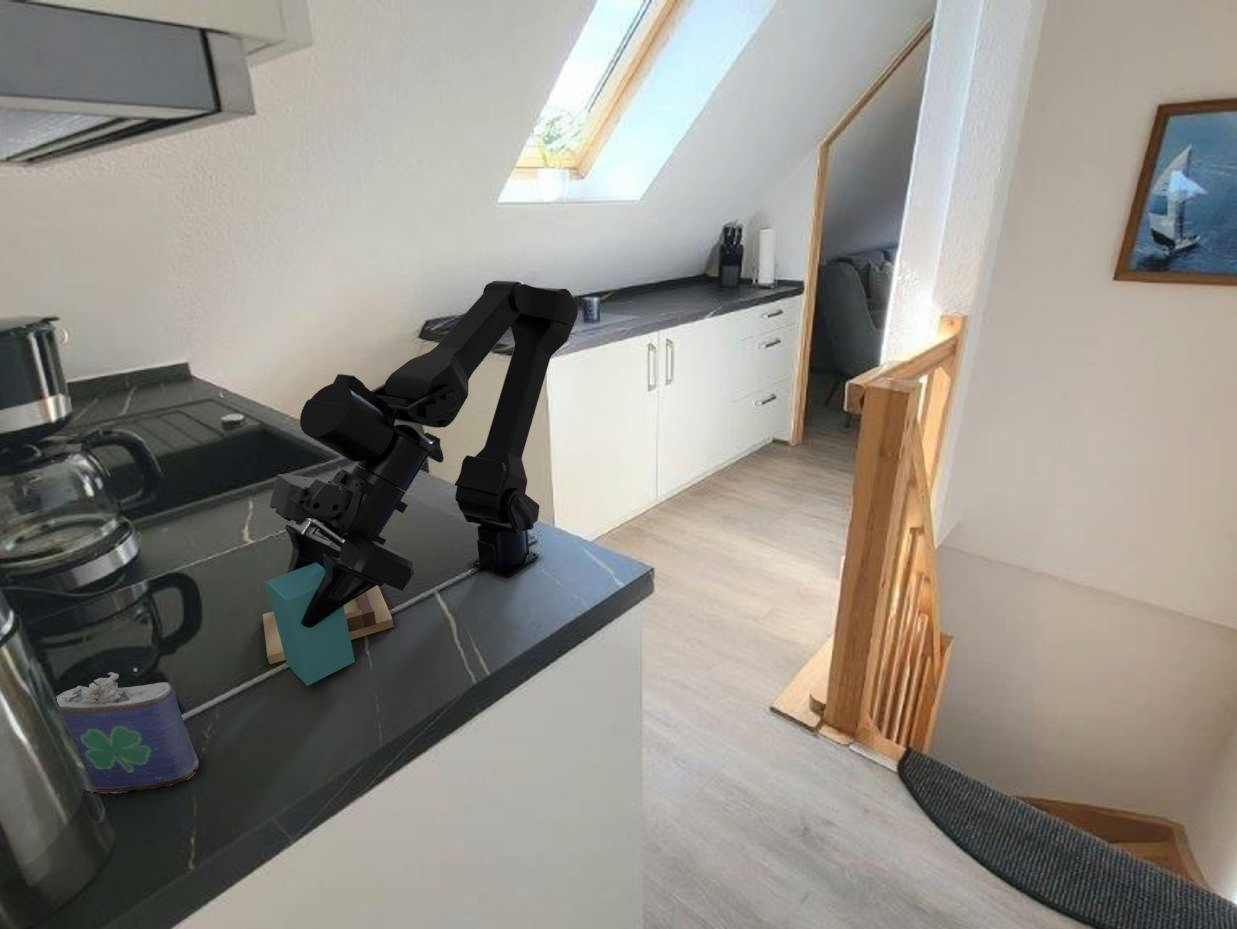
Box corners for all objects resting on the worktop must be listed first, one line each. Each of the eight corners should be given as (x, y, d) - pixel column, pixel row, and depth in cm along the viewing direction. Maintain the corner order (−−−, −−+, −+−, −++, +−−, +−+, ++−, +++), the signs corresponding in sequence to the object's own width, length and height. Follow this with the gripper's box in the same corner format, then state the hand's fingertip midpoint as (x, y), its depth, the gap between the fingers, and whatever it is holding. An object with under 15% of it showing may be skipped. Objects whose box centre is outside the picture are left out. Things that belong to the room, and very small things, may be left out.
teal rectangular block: (333, 641, 71) (316, 561, 67) (355, 661, 67) (338, 578, 64) (286, 664, 67) (265, 581, 64) (307, 686, 64) (285, 600, 60)
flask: (205, 760, 58) (171, 661, 54) (188, 787, 55) (151, 686, 51) (95, 769, 57) (53, 670, 53) (72, 797, 54) (26, 695, 50)
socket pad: (378, 590, 83) (374, 569, 82) (394, 628, 75) (390, 606, 74) (264, 621, 77) (258, 600, 76) (269, 666, 69) (263, 643, 68)
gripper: (276, 421, 67) (184, 555, 64) (362, 465, 55) (254, 632, 52) (361, 470, 76) (283, 590, 72) (452, 517, 64) (364, 664, 60)
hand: (294, 615), depth 64 cm, fingers closed on teal rectangular block, 5 cm apart
